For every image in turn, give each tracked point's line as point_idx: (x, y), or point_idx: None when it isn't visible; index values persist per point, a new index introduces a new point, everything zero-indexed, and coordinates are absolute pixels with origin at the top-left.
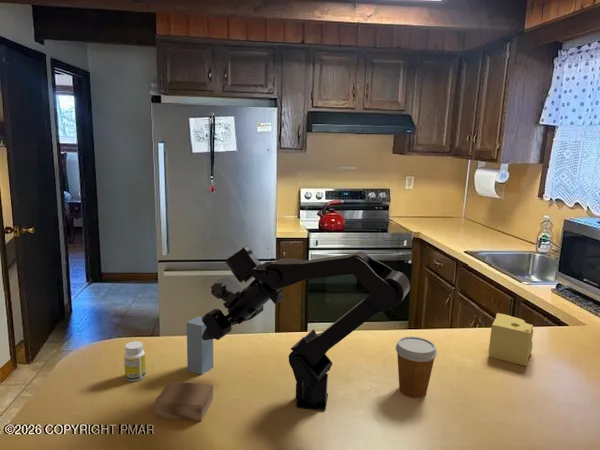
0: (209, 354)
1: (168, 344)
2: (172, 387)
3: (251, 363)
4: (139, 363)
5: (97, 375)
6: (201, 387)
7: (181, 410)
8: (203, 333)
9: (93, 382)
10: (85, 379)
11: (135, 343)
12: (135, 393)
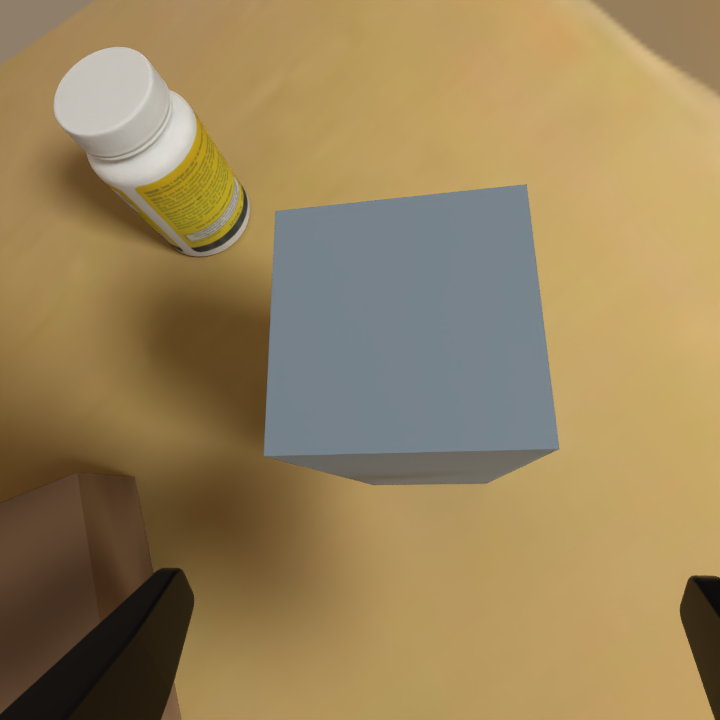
0: (446, 479)
1: (546, 92)
2: (25, 536)
3: (697, 712)
4: (142, 208)
5: None
6: None
7: None
8: (79, 645)
9: None
10: None
11: (121, 79)
12: (101, 323)
